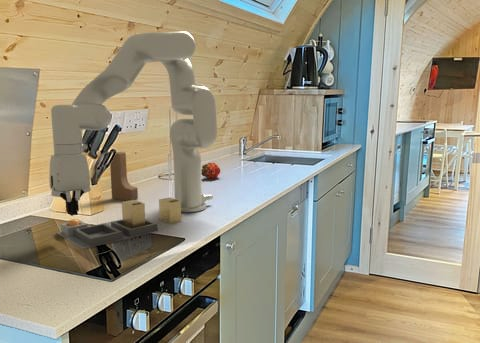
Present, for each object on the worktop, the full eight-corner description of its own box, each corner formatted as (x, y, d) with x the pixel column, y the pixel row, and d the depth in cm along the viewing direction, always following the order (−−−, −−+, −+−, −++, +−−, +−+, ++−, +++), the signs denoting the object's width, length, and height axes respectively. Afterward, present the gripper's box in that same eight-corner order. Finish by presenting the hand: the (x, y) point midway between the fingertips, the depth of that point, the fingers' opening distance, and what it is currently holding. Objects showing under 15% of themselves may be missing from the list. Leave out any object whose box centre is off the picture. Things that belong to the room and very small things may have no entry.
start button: (77, 227, 132) (76, 218, 131) (81, 229, 130) (80, 220, 129) (67, 228, 130) (66, 220, 130) (71, 231, 128) (70, 222, 128)
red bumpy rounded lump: (203, 184, 210) (214, 183, 222) (217, 174, 208) (228, 174, 219) (194, 169, 212) (205, 168, 223) (208, 159, 209) (219, 159, 221)
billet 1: (135, 225, 136) (134, 199, 135) (145, 230, 132) (144, 202, 130) (123, 228, 134) (121, 201, 132) (133, 233, 129) (131, 205, 128)
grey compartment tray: (132, 221, 146) (132, 209, 145) (163, 234, 132) (162, 221, 132) (56, 238, 130) (55, 224, 129) (82, 254, 117) (81, 239, 116)
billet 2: (170, 221, 146) (169, 196, 144) (181, 225, 141) (180, 200, 140) (159, 224, 143) (158, 198, 142) (170, 228, 139) (169, 202, 137)
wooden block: (138, 198, 177) (136, 152, 174) (131, 201, 173) (129, 154, 170) (118, 197, 180) (116, 151, 177) (111, 199, 176) (109, 153, 172)
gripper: (88, 146, 134) (92, 207, 137) (35, 150, 124) (40, 216, 127) (100, 148, 128) (103, 212, 131) (45, 153, 118) (50, 222, 121)
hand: (72, 214), depth 129 cm, fingers closed
